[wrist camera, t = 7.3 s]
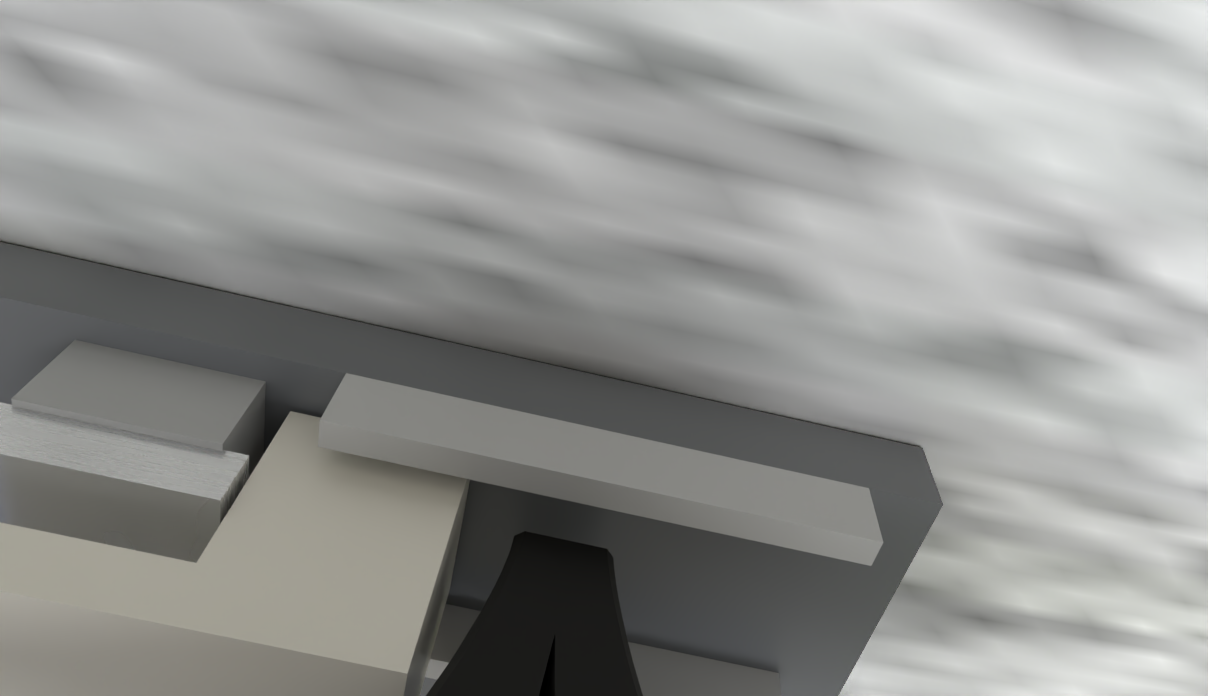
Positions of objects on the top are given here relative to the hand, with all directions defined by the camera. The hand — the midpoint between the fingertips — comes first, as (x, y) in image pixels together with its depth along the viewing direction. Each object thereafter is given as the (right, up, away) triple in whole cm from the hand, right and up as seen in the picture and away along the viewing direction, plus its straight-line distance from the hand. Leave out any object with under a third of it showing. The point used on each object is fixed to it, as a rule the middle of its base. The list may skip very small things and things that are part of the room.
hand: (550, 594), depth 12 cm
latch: (-4, +1, +1) cm, 4 cm away
